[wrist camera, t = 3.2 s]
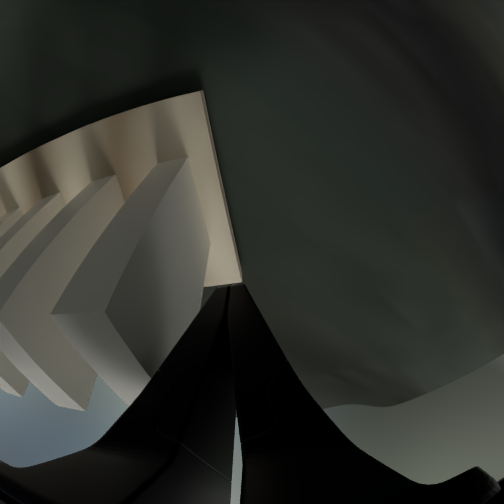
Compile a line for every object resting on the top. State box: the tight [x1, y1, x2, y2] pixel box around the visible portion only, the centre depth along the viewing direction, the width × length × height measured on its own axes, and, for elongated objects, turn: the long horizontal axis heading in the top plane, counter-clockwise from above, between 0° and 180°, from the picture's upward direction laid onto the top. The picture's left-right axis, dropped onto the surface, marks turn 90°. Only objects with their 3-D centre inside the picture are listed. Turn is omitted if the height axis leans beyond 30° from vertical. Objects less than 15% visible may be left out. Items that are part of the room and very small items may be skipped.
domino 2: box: [0, 175, 125, 411], centre depth 11 cm, size 2×5×10 cm, turn 9°
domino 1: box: [0, 192, 66, 397], centre depth 11 cm, size 2×5×10 cm, turn 9°
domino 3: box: [50, 157, 211, 406], centre depth 11 cm, size 2×5×10 cm, turn 9°
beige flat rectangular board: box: [0, 90, 242, 287], centre depth 16 cm, size 22×11×1 cm, turn 99°
